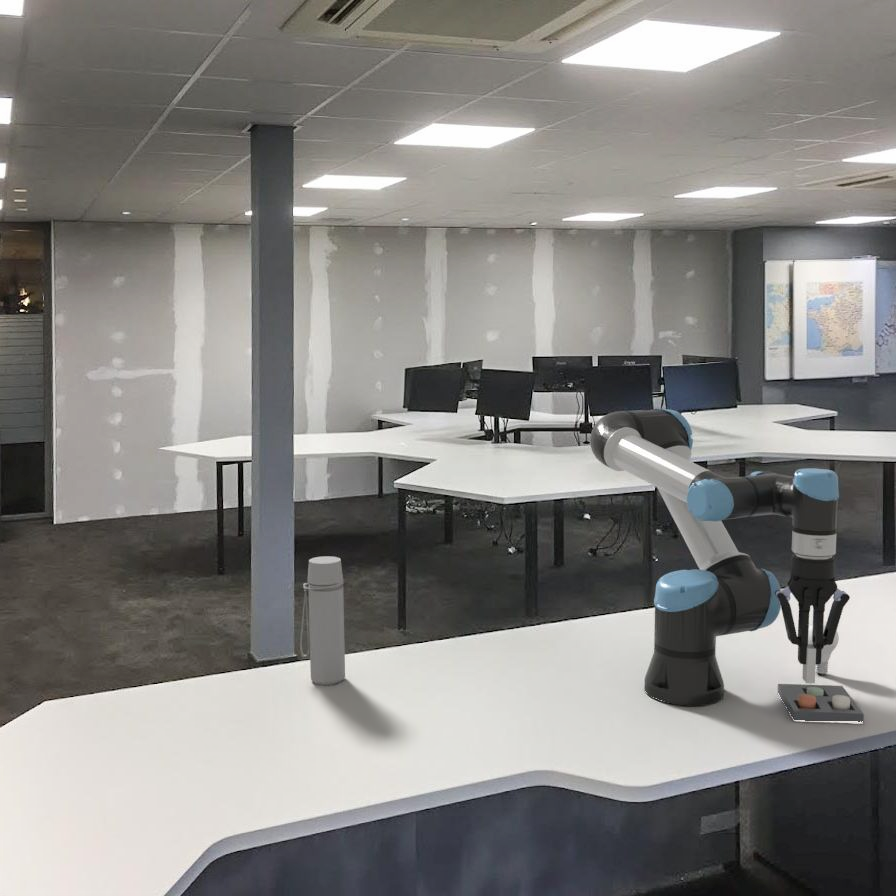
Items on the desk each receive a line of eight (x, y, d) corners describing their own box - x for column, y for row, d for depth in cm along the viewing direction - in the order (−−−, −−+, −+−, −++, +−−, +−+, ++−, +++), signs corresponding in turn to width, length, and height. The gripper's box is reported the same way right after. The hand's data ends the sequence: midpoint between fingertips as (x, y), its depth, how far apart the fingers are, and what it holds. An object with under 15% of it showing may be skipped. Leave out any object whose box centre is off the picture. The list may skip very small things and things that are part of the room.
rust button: (800, 710, 181) (800, 699, 180) (796, 704, 184) (796, 693, 183) (817, 711, 180) (817, 700, 180) (813, 704, 183) (813, 693, 183)
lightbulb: (841, 679, 200) (844, 626, 199) (810, 679, 200) (812, 626, 199) (830, 668, 206) (832, 617, 205) (799, 668, 206) (801, 617, 205)
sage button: (808, 702, 187) (808, 692, 186) (804, 697, 190) (805, 686, 189) (825, 703, 186) (825, 692, 186) (820, 697, 189) (821, 687, 189)
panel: (794, 721, 179) (794, 711, 179) (777, 693, 193) (777, 683, 192) (863, 724, 178) (863, 713, 177) (841, 695, 191) (842, 685, 191)
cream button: (834, 711, 180) (834, 700, 180) (830, 705, 183) (830, 694, 183) (851, 712, 180) (852, 701, 179) (847, 706, 182) (847, 695, 182)
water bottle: (349, 673, 206) (347, 555, 203) (341, 687, 198) (339, 565, 195) (306, 672, 207) (302, 555, 204) (296, 686, 199) (293, 564, 196)
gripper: (781, 559, 176) (777, 687, 179) (857, 560, 175) (851, 689, 178) (771, 549, 183) (767, 672, 186) (844, 550, 182) (839, 674, 185)
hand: (808, 680), depth 182 cm, fingers closed
